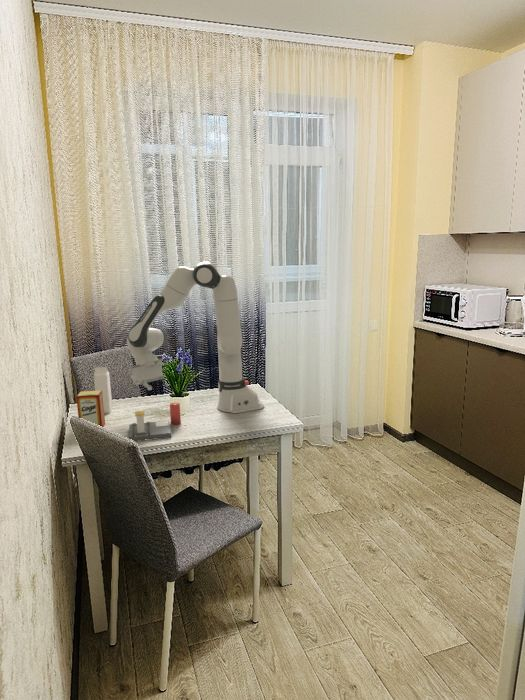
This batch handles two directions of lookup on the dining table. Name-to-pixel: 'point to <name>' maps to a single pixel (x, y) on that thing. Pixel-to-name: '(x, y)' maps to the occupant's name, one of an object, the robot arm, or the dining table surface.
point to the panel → (151, 430)
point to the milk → (103, 386)
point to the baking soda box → (91, 407)
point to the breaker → (140, 423)
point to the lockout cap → (175, 413)
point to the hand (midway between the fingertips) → (159, 387)
